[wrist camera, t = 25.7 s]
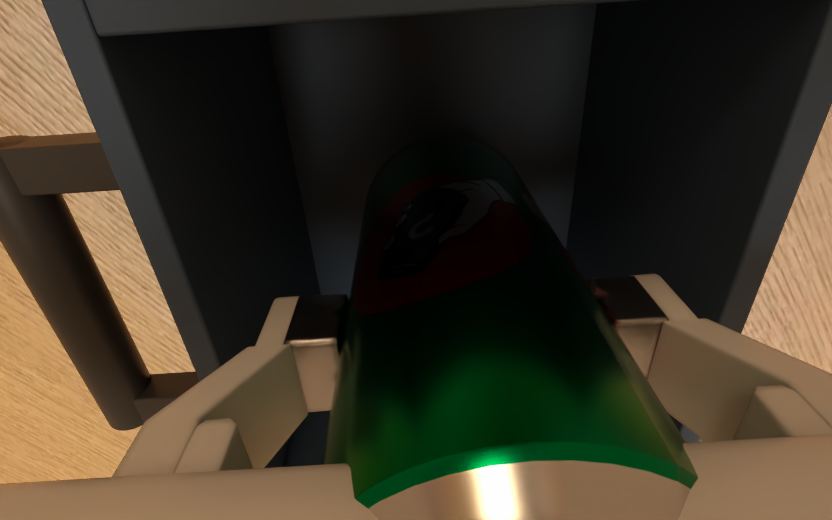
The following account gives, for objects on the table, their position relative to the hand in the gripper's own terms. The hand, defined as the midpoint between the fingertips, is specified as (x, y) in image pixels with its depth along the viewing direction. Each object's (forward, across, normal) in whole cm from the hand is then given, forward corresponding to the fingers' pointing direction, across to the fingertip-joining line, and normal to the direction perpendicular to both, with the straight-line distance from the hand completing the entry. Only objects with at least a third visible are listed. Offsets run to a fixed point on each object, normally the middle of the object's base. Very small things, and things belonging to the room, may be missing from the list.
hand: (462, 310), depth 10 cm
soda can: (+6, 0, 0) cm, 6 cm away
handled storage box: (+10, +2, 0) cm, 10 cm away
